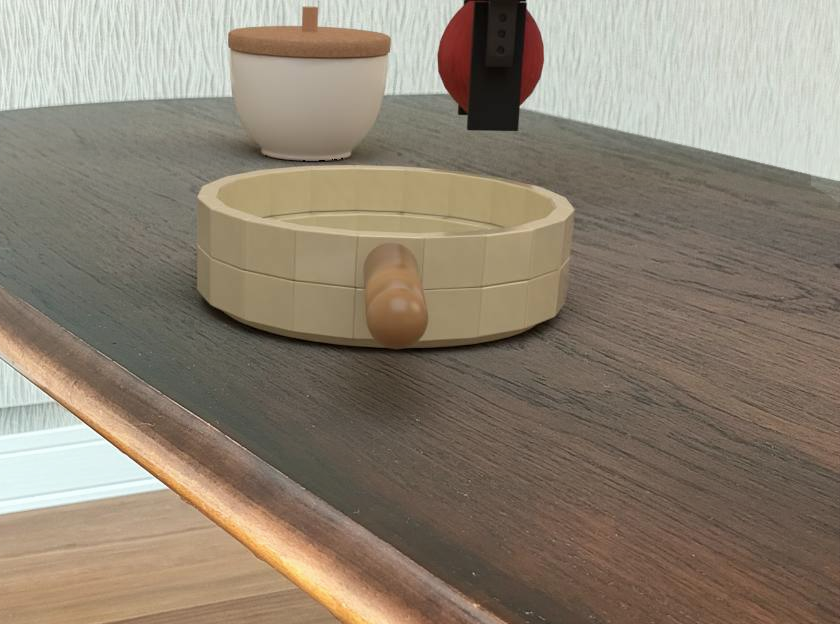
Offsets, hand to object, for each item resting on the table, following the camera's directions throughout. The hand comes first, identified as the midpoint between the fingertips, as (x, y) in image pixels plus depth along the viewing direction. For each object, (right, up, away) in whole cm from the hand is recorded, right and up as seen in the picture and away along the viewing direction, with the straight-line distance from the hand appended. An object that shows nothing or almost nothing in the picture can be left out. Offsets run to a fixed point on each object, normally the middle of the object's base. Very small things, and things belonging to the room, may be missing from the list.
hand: (486, 121), depth 81 cm
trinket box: (-10, +3, +17) cm, 20 cm away
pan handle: (-7, -16, -31) cm, 36 cm away
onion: (0, 0, 0) cm, 0 cm away
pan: (-7, -13, -19) cm, 24 cm away
